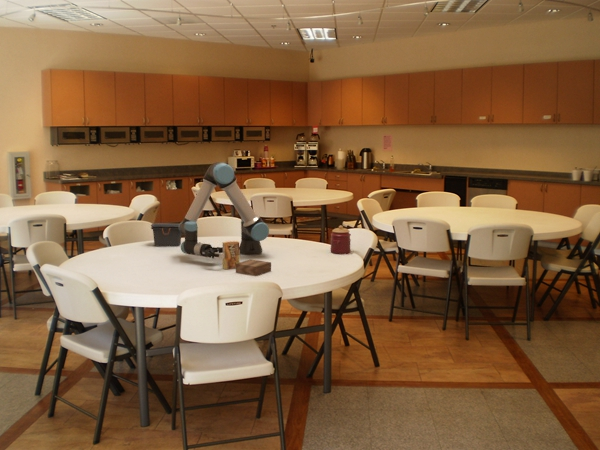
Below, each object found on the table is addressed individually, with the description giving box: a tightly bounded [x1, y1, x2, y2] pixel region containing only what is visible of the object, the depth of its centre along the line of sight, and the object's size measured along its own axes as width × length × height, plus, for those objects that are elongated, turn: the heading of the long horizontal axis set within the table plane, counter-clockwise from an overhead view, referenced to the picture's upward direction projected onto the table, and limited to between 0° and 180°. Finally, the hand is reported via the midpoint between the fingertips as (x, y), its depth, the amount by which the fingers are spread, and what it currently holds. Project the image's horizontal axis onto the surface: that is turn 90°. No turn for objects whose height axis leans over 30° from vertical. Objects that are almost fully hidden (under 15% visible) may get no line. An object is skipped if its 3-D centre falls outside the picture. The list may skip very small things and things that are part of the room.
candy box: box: [222, 240, 240, 270], centre depth 357 cm, size 9×4×15 cm, turn 116°
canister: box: [330, 225, 352, 255], centre depth 405 cm, size 13×13×18 cm
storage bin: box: [150, 222, 182, 247], centre depth 423 cm, size 21×16×14 cm
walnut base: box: [235, 259, 272, 277], centre depth 349 cm, size 14×14×5 cm
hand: (231, 254), depth 356 cm, fingers open, 13 cm apart
